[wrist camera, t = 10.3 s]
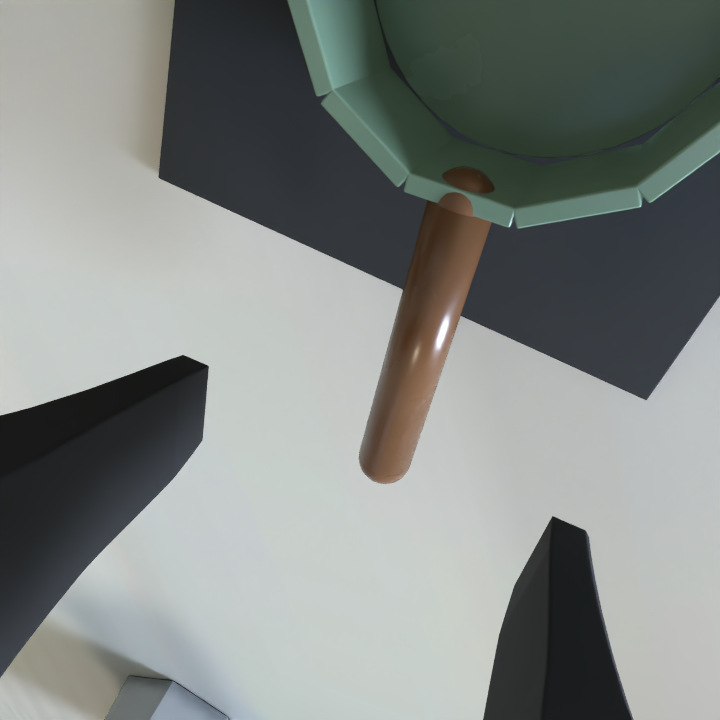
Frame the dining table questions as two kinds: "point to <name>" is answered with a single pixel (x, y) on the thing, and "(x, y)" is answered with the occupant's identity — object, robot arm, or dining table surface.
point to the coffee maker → (159, 702)
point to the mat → (405, 211)
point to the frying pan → (504, 139)
